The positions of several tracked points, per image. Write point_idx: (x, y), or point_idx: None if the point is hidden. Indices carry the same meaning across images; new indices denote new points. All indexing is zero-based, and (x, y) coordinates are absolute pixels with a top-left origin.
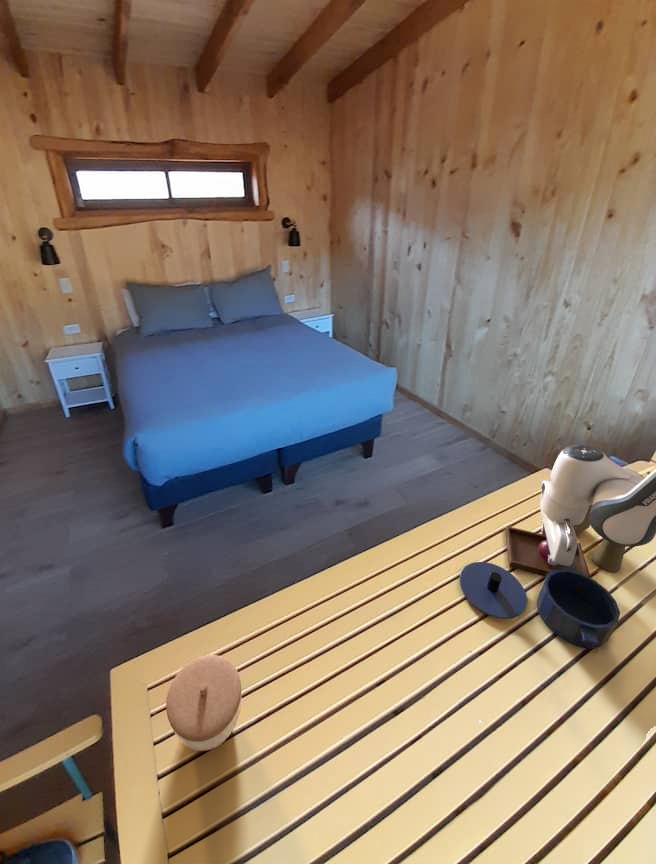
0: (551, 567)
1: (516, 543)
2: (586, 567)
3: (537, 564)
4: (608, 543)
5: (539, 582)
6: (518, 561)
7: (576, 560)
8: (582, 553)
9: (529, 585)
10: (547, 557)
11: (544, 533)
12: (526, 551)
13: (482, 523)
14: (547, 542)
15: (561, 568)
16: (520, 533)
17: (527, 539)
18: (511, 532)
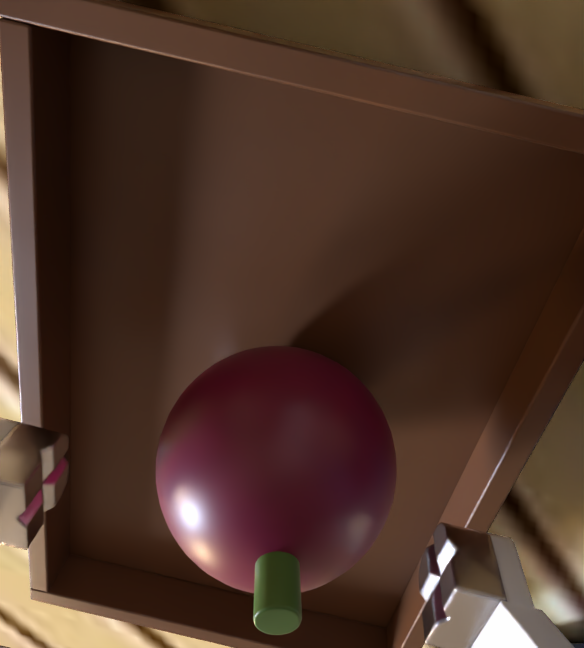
0: (394, 403)
1: (174, 544)
2: (451, 105)
3: None
4: None
5: (528, 513)
6: (352, 587)
7: (274, 117)
8: (199, 41)
9: (549, 575)
10: (420, 590)
11: (54, 488)
12: None
13: (36, 629)
14: (237, 586)
15: (404, 328)
16: (61, 505)
17: (104, 462)
18: (68, 542)
